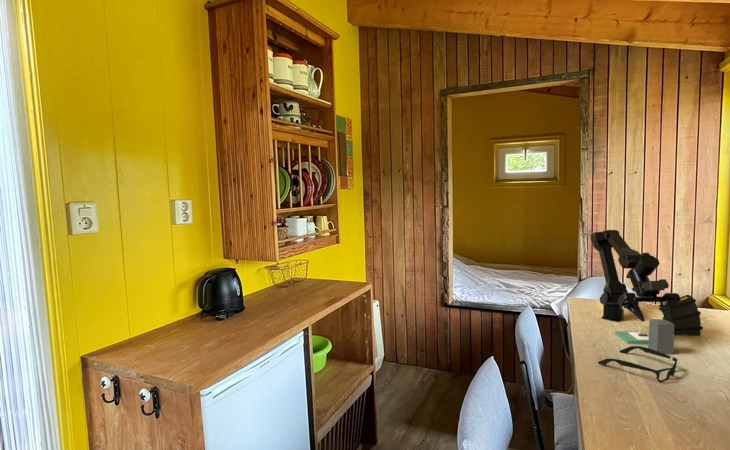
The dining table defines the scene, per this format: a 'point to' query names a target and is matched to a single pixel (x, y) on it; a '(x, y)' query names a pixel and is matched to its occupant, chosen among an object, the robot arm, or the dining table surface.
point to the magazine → (685, 317)
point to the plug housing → (661, 336)
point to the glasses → (629, 364)
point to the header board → (634, 336)
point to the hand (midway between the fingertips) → (657, 321)
